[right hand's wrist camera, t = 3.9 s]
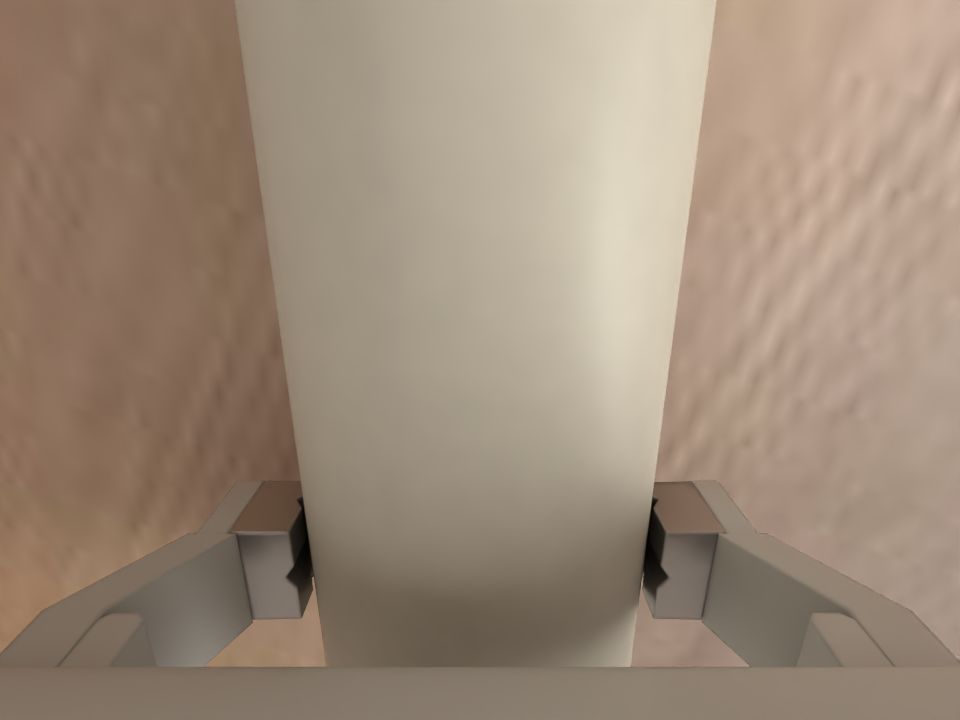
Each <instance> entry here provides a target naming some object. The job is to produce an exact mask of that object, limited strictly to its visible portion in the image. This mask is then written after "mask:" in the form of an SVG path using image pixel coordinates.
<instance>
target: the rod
mask: <svg viewBox="0 0 960 720" xmlns="http://www.w3.org/2000/svg"><path fill="white" fill-rule="evenodd" d="M716 2H717V0H234V3H235V11H236V18H237V25H238V32H239V39H240V47H241V54H242V61H243V68H244V75H245V83H246V90H247V97H248V104H249V111H250V119H251V126H252V133H253V140H254V148H255V155H256V162H257V169H258V176H259V184H260V191H261V198H262V205H263V212H264V220H265V227H266V234H267V241H268V249H269V256H270V263H271V270H272V277H273V285H274V292H275V299H276V306H277V313H278V321H279V328H280V335H281V342H282V350H283V357H284V364H285V371H286V378H287V386H288V393H289V400H290V407H291V414H292V422H293V429H294V436H295V443H296V450H297V458H298V465H299V472H300V479H301V487H302V494H303V501H304V508H305V515H306V523H307V530H308V537H309V544H310V551H311V559H312V566H313V573H314V580H315V588H316V595H317V602H318V609H319V616H320V624H321V631H322V638H323V645H324V652H325V660H326V667H630V665H631V657H632V649H633V642H634V634H635V626H636V619H637V611H638V603H639V595H640V588H641V580H642V572H643V565H644V557H645V549H646V541H647V534H648V526H649V518H650V511H651V503H652V495H653V487H654V480H655V472H656V464H657V457H658V449H659V441H660V433H661V426H662V418H663V410H664V403H665V395H666V387H667V380H668V372H669V364H670V356H671V349H672V341H673V333H674V326H675V318H676V310H677V302H678V295H679V287H680V279H681V272H682V264H683V256H684V248H685V241H686V233H687V225H688V218H689V210H690V202H691V194H692V187H693V179H694V171H695V164H696V156H697V148H698V140H699V133H700V125H701V117H702V110H703V102H704V94H705V87H706V79H707V71H708V63H709V56H710V48H711V40H712V33H713V25H714V17H715V9H716Z"/></svg>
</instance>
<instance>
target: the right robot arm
mask: <svg viewBox="0 0 960 720" xmlns="http://www.w3.org/2000/svg"><path fill="white" fill-rule="evenodd" d="M313 576H314V573H313V566H312V559H311V551H310V544H309V537H308V530H307V523H306V515H305V508H304V501H303V494H302V487H301V482H299V481H239V482H236V483H235V484H234V485H233V487H232V488H231V489H230V491H229V492H228V493H227V494H226V496H225V497H224V498H223V500H222V501H221V502H220V504H219V505H218V506H217V508H216V509H215V510H214V511H213V513H212V514H211V515H210V517H209V518H208V519H207V521H206V522H205V523H204V525H203V526H202V527H201V528H200V530H199V531H198V532H197V534H186V535H185V536H183V537H181V538H179V539H177V540H175V541H173V542H171V543H169V544H167V545H166V546H164V547H162V548H160V549H158V550H156V551H154V552H152V553H150V554H149V555H147V556H145V557H143V558H141V559H139V560H137V561H135V562H133V563H131V564H130V565H128V566H126V567H124V568H122V569H120V570H118V571H116V572H114V573H112V574H111V575H109V576H107V577H105V578H103V579H101V580H99V581H97V582H95V583H93V584H92V585H90V586H88V587H86V588H84V589H82V590H80V591H78V592H76V593H74V594H73V595H71V596H69V597H67V598H65V599H63V600H61V601H59V602H57V603H55V604H54V605H52V606H50V607H48V608H46V609H44V610H42V611H41V612H40V613H39V614H38V615H37V616H36V617H35V619H34V620H33V621H32V622H31V623H30V624H29V625H28V626H27V627H26V628H25V629H24V630H23V631H22V632H21V633H20V634H19V635H18V636H17V637H16V638H15V639H14V640H13V641H12V642H11V643H10V644H9V645H8V646H7V647H6V648H5V649H4V650H3V651H2V652H1V653H0V720H960V661H959V660H958V659H957V658H956V657H955V656H954V655H953V654H952V653H951V652H950V651H949V649H948V648H947V647H946V646H945V645H944V644H943V643H942V642H941V641H940V640H939V639H938V638H937V637H936V636H935V635H934V634H933V633H932V632H931V631H930V630H929V629H928V627H927V626H926V625H925V624H924V623H923V622H922V621H921V620H920V619H919V618H918V617H917V616H916V615H915V614H914V613H913V612H912V611H911V610H909V609H907V608H905V607H903V606H901V605H899V604H898V603H896V602H894V601H892V600H890V599H888V598H886V597H884V596H882V595H881V594H879V593H877V592H875V591H873V590H871V589H869V588H867V587H866V586H864V585H862V584H860V583H858V582H856V581H854V580H852V579H851V578H849V577H847V576H845V575H843V574H841V573H839V572H837V571H836V570H834V569H832V568H830V567H828V566H826V565H824V564H822V563H821V562H819V561H817V560H815V559H813V558H811V557H809V556H807V555H806V554H804V553H802V552H800V551H798V550H796V549H794V548H792V547H791V546H789V545H787V544H785V543H783V542H781V541H779V540H777V539H776V538H774V537H772V536H770V535H768V534H758V533H757V532H756V530H755V529H754V528H753V526H752V525H751V524H750V522H749V521H748V520H747V518H746V517H745V516H744V514H743V513H742V512H741V510H740V509H739V508H738V506H737V505H736V504H735V502H734V501H733V500H732V499H731V497H730V496H729V495H728V493H727V492H726V491H725V489H724V488H723V487H722V485H721V484H720V483H719V482H717V481H715V480H710V481H688V482H654V487H653V495H652V503H651V511H650V518H649V526H648V534H647V541H646V549H645V557H644V565H643V572H642V577H643V578H644V579H643V587H642V590H643V593H644V595H645V598H646V601H647V603H648V606H649V608H650V611H651V613H652V616H653V618H658V619H694V620H702V623H704V624H705V625H706V626H707V627H708V628H709V629H710V630H711V631H712V632H713V633H715V634H716V635H717V636H718V637H719V638H720V639H721V640H722V641H723V642H724V643H725V644H727V645H728V646H729V647H730V648H731V649H732V650H733V651H734V652H735V653H736V654H738V655H739V656H740V657H741V658H742V659H743V660H744V661H745V662H746V663H747V664H748V665H750V666H751V667H204V666H205V665H206V664H207V663H208V662H210V661H211V660H212V659H213V658H214V657H215V656H216V655H217V654H218V653H220V652H221V651H222V650H223V649H224V648H225V647H226V646H227V645H228V644H229V643H231V642H232V641H233V640H234V639H235V638H236V637H237V636H238V635H239V634H241V633H242V632H243V631H244V630H245V629H246V628H247V627H248V626H249V625H251V624H252V623H253V620H261V619H295V618H302V616H303V614H304V611H305V609H306V606H307V603H308V601H309V598H310V596H311V593H312V591H313V585H312V577H313Z"/></svg>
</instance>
